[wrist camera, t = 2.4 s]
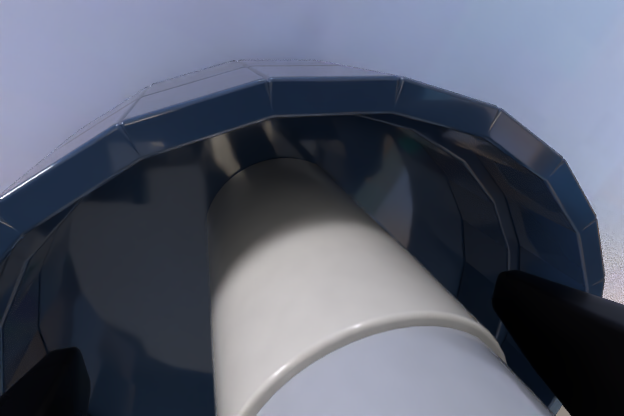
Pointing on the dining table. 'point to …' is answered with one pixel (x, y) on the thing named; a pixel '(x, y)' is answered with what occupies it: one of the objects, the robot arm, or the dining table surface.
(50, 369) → the robot arm
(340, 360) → the salt shaker
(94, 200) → the bowl
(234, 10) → the dining table surface
